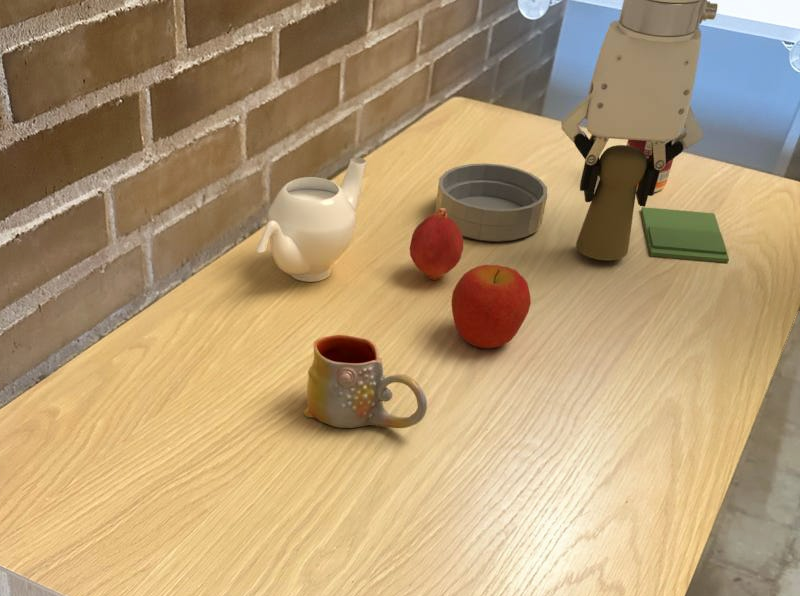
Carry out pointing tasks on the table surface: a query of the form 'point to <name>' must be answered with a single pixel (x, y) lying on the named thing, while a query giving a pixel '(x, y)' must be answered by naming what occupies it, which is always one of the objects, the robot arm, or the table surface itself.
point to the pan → (492, 201)
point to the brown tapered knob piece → (612, 204)
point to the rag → (683, 235)
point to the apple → (490, 305)
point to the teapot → (313, 223)
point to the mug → (354, 385)
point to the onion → (436, 245)
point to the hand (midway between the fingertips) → (614, 197)
